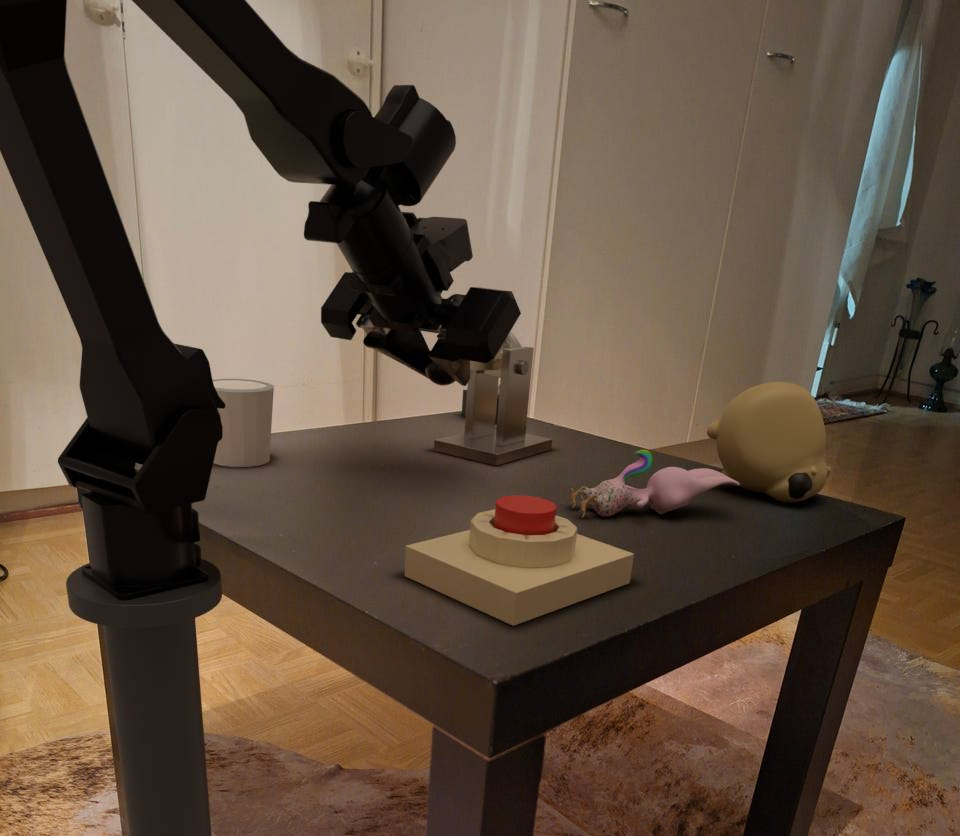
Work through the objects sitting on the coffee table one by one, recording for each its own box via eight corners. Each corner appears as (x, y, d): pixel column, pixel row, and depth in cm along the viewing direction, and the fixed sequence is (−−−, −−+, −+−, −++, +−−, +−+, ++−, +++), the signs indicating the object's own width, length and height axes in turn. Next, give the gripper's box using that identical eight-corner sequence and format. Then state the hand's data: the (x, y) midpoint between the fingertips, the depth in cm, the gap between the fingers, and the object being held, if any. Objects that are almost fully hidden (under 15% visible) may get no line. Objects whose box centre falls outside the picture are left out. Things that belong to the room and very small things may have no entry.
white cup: (186, 461, 81) (180, 383, 78) (231, 447, 87) (228, 375, 84) (248, 472, 79) (244, 393, 76) (290, 457, 84) (289, 384, 81)
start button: (526, 543, 55) (528, 516, 54) (481, 526, 58) (483, 500, 57) (566, 532, 58) (569, 506, 57) (521, 516, 60) (524, 491, 59)
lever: (445, 389, 80) (448, 348, 79) (415, 383, 82) (417, 343, 81) (520, 384, 91) (524, 348, 89) (491, 378, 92) (495, 343, 91)
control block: (513, 626, 52) (519, 564, 50) (404, 576, 58) (406, 519, 57) (630, 583, 60) (638, 528, 58) (523, 543, 66) (528, 492, 65)
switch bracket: (496, 465, 88) (505, 354, 83) (433, 450, 91) (438, 343, 87) (551, 449, 96) (562, 347, 91) (491, 436, 100) (499, 338, 95)
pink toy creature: (589, 539, 72) (752, 510, 75) (587, 470, 70) (756, 442, 72) (564, 516, 78) (717, 490, 80) (561, 451, 75) (720, 426, 78)
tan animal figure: (736, 536, 84) (834, 483, 76) (677, 428, 84) (768, 364, 77) (778, 514, 91) (872, 464, 83) (723, 414, 91) (812, 355, 83)
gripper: (520, 181, 68) (571, 327, 81) (344, 173, 77) (414, 305, 90) (454, 287, 65) (517, 421, 78) (279, 266, 74) (362, 389, 87)
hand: (450, 379), depth 84 cm, fingers closed on lever, 3 cm apart
